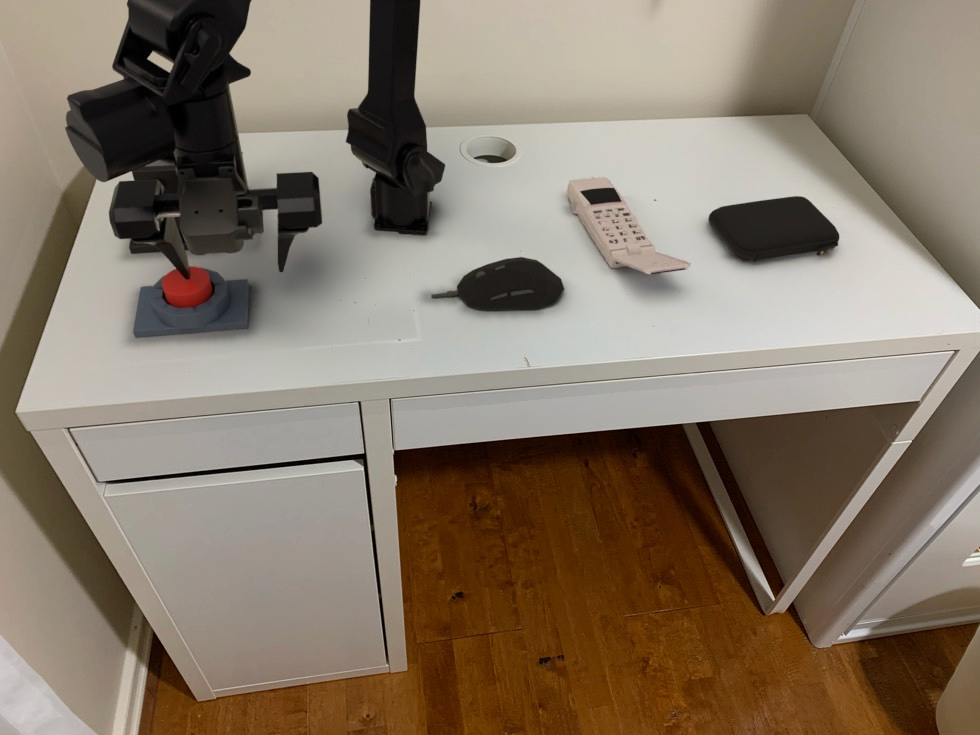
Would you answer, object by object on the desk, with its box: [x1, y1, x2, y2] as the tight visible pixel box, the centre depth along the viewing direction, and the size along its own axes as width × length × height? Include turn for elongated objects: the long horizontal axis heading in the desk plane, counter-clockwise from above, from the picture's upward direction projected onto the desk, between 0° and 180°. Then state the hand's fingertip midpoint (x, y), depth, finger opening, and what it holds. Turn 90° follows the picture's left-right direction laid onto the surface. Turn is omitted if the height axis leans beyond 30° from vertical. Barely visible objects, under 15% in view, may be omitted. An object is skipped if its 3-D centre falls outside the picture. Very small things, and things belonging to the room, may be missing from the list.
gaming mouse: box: [431, 256, 565, 311], centre depth 87 cm, size 6×15×4 cm, turn 99°
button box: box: [132, 267, 250, 339], centre depth 82 cm, size 11×8×3 cm
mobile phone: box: [566, 176, 692, 275], centre depth 94 cm, size 6×6×25 cm
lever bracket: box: [128, 152, 189, 255], centre depth 89 cm, size 9×8×10 cm
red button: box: [162, 265, 213, 308], centre depth 80 cm, size 5×5×2 cm
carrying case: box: [707, 195, 840, 262], centre depth 97 cm, size 11×3×15 cm
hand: (235, 273), depth 80 cm, fingers open, 9 cm apart
